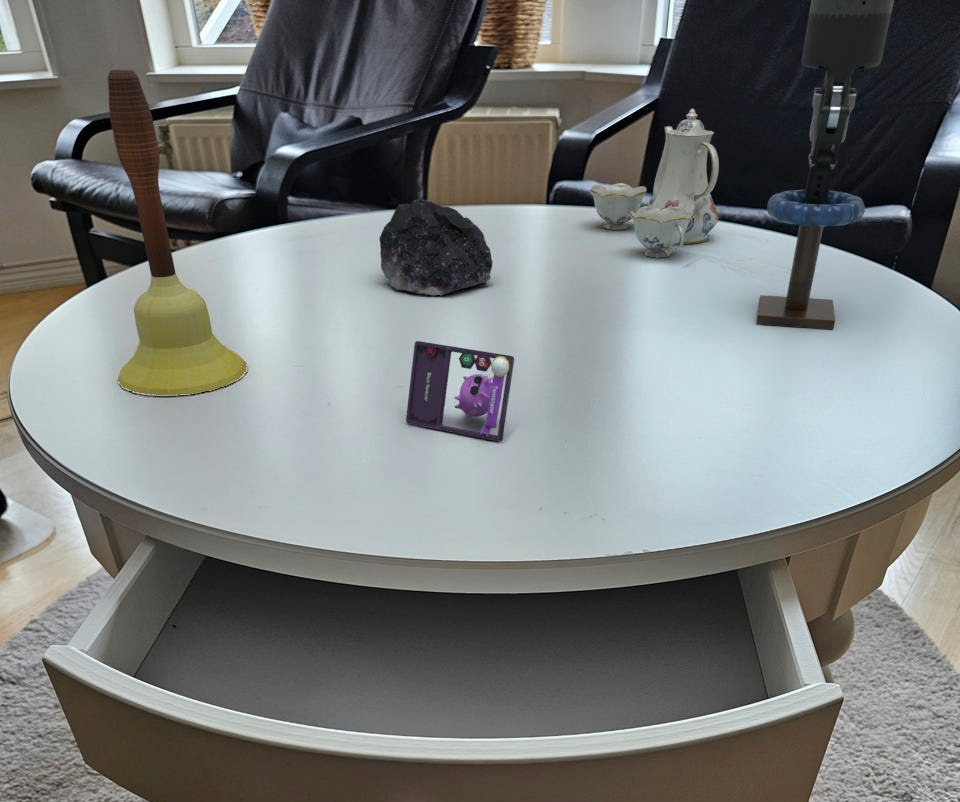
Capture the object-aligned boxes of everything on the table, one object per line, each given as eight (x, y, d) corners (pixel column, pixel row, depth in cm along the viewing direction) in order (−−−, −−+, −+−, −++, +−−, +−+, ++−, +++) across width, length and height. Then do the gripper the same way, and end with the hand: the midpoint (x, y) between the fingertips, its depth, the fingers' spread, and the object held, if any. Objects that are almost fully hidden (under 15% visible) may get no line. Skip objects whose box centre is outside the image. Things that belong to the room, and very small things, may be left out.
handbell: (114, 361, 91) (41, 68, 76) (238, 346, 94) (191, 62, 80) (120, 404, 81) (38, 79, 67) (258, 386, 85) (208, 72, 70)
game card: (410, 340, 74) (509, 355, 71) (440, 343, 79) (534, 358, 76) (401, 422, 77) (496, 441, 73) (430, 421, 81) (521, 439, 78)
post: (830, 308, 103) (853, 203, 96) (833, 329, 97) (857, 218, 90) (758, 303, 105) (775, 199, 98) (756, 324, 98) (774, 214, 92)
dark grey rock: (507, 296, 111) (512, 206, 106) (401, 299, 106) (401, 205, 101) (467, 279, 121) (470, 196, 116) (370, 281, 117) (368, 195, 112)
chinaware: (571, 233, 141) (566, 112, 131) (669, 214, 144) (671, 94, 134) (651, 278, 120) (652, 137, 109) (764, 254, 123) (775, 115, 112)
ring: (858, 210, 97) (863, 189, 96) (864, 230, 90) (869, 208, 89) (766, 206, 100) (769, 186, 98) (765, 226, 92) (768, 204, 91)
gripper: (898, 10, 81) (853, 220, 91) (886, 6, 92) (847, 194, 102) (810, 11, 83) (776, 216, 93) (809, 7, 93) (778, 192, 104)
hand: (814, 204), depth 97 cm, fingers closed on ring, 2 cm apart
